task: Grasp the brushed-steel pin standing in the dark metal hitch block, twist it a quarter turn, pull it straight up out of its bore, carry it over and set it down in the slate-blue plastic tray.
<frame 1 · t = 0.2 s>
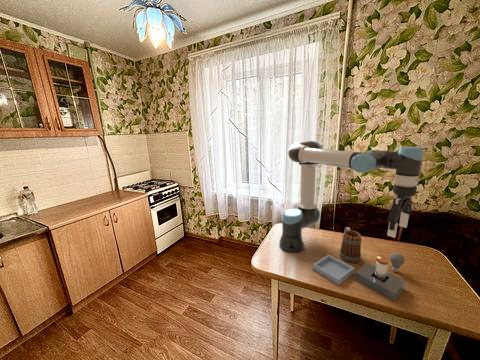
hand: (397, 231, 86), 27 cm above the table, fingers open, 13 cm apart
hitch block: (378, 283, 92), on the table
mug: (348, 255, 115), on the table
tray: (332, 271, 102), on the table
pin: (380, 271, 91), in the hitch block
light bulb: (394, 271, 100), on the table
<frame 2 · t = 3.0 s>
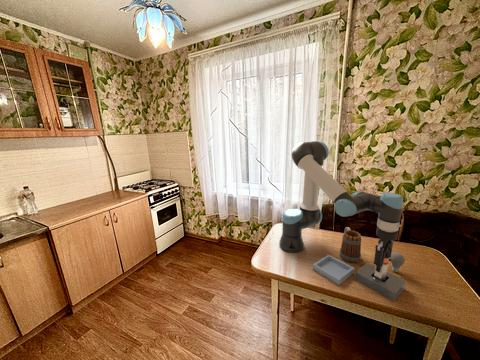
hand: (380, 274, 91), 5 cm above the table, fingers closed on pin, 4 cm apart
pin: (380, 271, 91), in the hitch block, touching gripper
everything else where it was.
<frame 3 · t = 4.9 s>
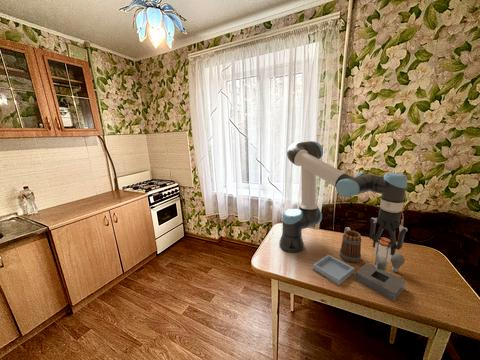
hand: (382, 257, 89), 14 cm above the table, fingers closed on pin, 4 cm apart
pin: (382, 253, 89), point 16 cm above the table, touching gripper
everything else where it was.
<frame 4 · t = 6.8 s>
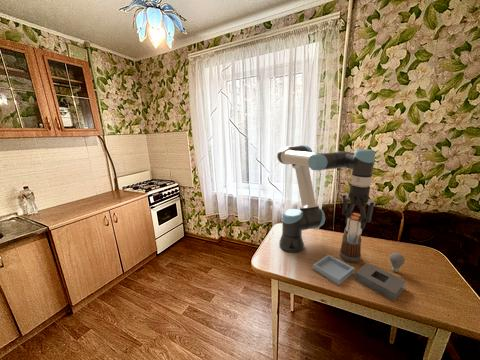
hand: (353, 231, 93), 24 cm above the table, fingers closed on pin, 4 cm apart
pin: (354, 228, 93), point 26 cm above the table, touching gripper
everything else where it was.
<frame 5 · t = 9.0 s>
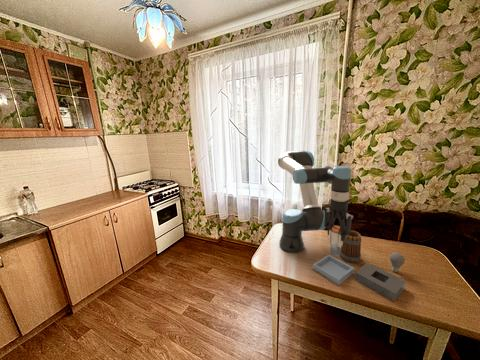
hand: (335, 243, 98), 16 cm above the table, fingers closed on pin, 4 cm apart
pin: (335, 240, 97), point 18 cm above the table, touching gripper
everything else where it was.
when the fingers open (7 cm above the table, at t = 11.0 s): pin stays where it is, resting on tray.
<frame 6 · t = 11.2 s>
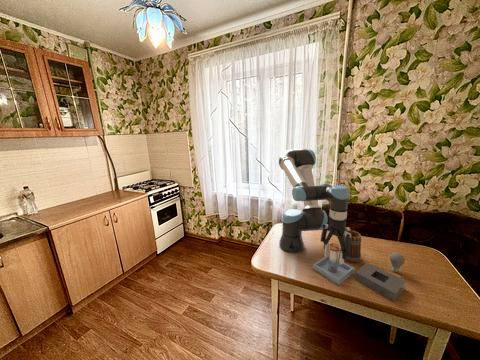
hand: (333, 259, 100), 7 cm above the table, fingers open, 7 cm apart
pin: (333, 257, 100), in the tray, point 8 cm above the table
everything else where it was.
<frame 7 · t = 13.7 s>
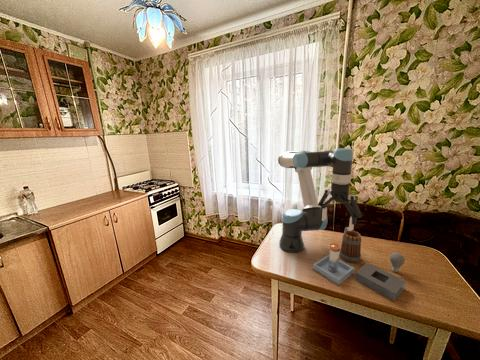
hand: (336, 224, 96), 26 cm above the table, fingers open, 13 cm apart
nothing on the table moved.
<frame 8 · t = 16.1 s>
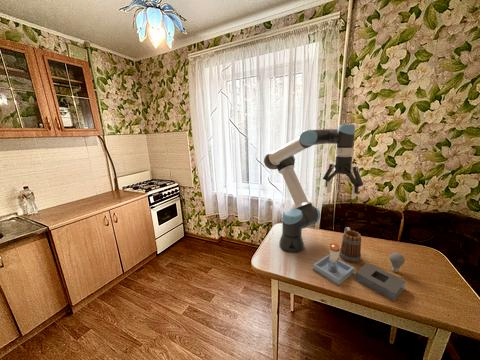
hand: (340, 195, 105), 37 cm above the table, fingers open, 13 cm apart
nothing on the table moved.
at the end: pin inside the target area on the tray (0.0 cm from its centre), point 7.8 cm above the tray's base; the gripper is holding nothing; pin touching tray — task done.
